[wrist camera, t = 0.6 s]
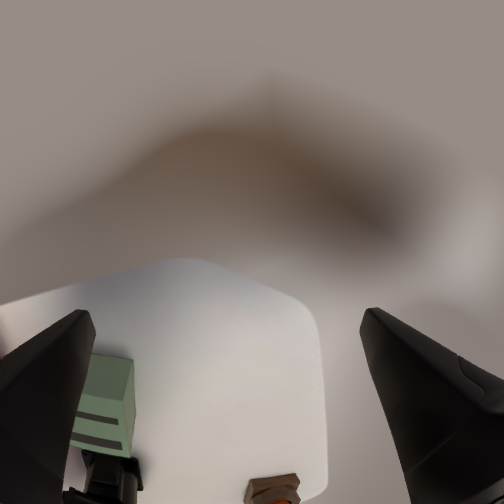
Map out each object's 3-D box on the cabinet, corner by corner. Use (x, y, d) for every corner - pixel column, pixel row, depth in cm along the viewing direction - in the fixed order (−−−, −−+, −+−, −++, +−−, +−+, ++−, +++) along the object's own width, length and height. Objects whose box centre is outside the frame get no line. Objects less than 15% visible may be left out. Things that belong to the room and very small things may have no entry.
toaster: (136, 413, 21) (130, 458, 15) (67, 400, 19) (48, 439, 13) (133, 359, 20) (122, 401, 14) (58, 345, 18) (30, 380, 12)
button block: (285, 496, 27) (294, 512, 23) (243, 502, 25) (250, 520, 22) (295, 473, 26) (306, 491, 23) (250, 479, 25) (257, 499, 21)
